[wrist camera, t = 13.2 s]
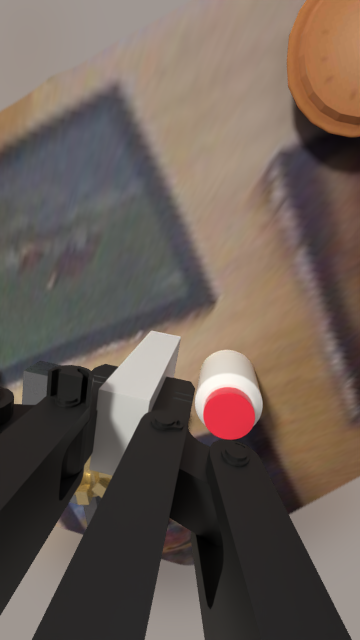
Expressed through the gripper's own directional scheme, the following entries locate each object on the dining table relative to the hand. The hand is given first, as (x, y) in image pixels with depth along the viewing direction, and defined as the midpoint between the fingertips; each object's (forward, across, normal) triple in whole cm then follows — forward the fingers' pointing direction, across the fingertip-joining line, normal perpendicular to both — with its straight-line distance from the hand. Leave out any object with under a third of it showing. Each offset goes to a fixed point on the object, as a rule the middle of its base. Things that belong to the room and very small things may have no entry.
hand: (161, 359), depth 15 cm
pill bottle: (+27, +6, -11) cm, 29 cm away
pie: (+27, +12, +27) cm, 40 cm away
